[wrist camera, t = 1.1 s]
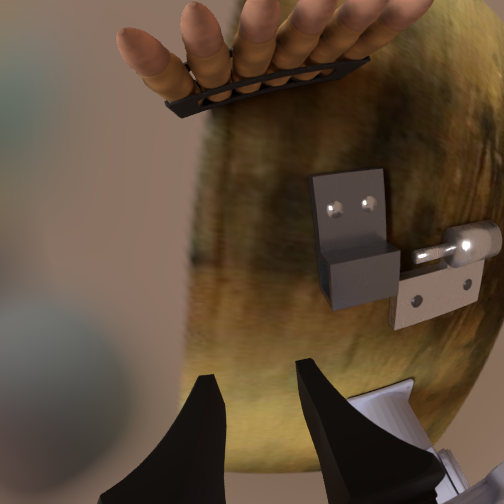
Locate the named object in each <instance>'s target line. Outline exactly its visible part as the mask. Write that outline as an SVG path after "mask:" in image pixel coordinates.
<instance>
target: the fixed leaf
mask: <svg viewBox="0 0 504 504" xmlns="http://www.w3.org/2000/svg"><path fill="white" fill-rule="evenodd" d="M501 246H502V235H501V232H500V229H499V227H498V226H497V224H496V223H495V222H494V221H492V220H484V221H479V222H474V223H469V224H465V225H460V226H455V227H450V228H447V229H446V230H445V231H444V232H443V234H442V238H441V244H440V245H435V246H431V247H427V248H423V249H418V250H414V251H412V260H413V262H414V263H415V264H419V263H423V262H427V261H430V260H434V259H438V258H440V262H439V263H436V264H433V265H429V266H425V267H421V268H417V269H414V270H410V271H406V272H402V273H400V276H399V292H398V295H395V296H392V297H390V309H389V321H388V323H389V324H390V326H391V327H392V328H393V329H394V330H397V329H401V328H404V327H407V326H410V325H413V324H416V323H419V322H422V321H425V320H428V319H431V318H434V317H436V316H439V315H442V314H445V313H447V312H450V311H453V310H455V309H458V308H461V307H463V306H466V305H468V304H471V303H473V302H475V301H477V299H478V294H479V289H480V284H481V278H482V273H483V266H484V259H487V258H490V257H493V256H496V255H497V254H498V253H499V252H500V250H501Z"/></svg>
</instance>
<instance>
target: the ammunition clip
mask: <svg viewBox="0 0 504 504" xmlns="http://www.w3.org/2000/svg"><path fill="white" fill-rule="evenodd" d="M433 1H434V0H390V1H389V0H346V1H345V2H344V3H343V5H342V6H340V7H339V8H338V9H336V6H337V2H338V0H299V1H298V3H297V4H296V6H295V8H294V10H293V11H292V12H291V13H290V15H289V17H288V18H287V20H285V21H284V22H283V23H282V24H281V26H280V27H279V28H278V31H277V27H278V23H279V18H280V7H279V2H278V0H247V1H246V3H245V5H244V8H243V11H242V13H241V17H240V23H239V26H238V31H237V33H236V35H235V37H234V40H233V48H232V49H228V47H227V45H226V44H225V42H224V39H223V36H222V34H221V28H220V26H219V24H218V21H217V20H216V18H215V17H214V15H213V13H212V12H211V11H210V10H209V9H208V8H207V7H206V6H204V5H203V4H201V3H198V2H190V3H189V4H188V5H187V6H186V7H185V9H184V11H183V14H182V18H181V34H182V39H183V42H184V44H185V49H186V52H187V54H186V57H187V62H185V63H182V61H181V60H180V58H178V57H177V56H175V55H174V54H173V53H170V52H169V51H168V50H167V49H166V48H165V47H164V46H163V45H162V44H161V43H160V42H159V41H158V40H157V39H155V38H154V37H153V36H151V35H150V34H148V33H147V32H145V31H142V30H139V29H136V28H122V29H120V30H119V31H118V33H117V45H118V49H119V51H120V53H121V55H122V57H123V58H124V60H125V61H126V63H127V64H128V65H129V66H130V67H131V68H132V69H134V70H135V71H136V73H137V74H138V75H139V76H141V77H142V79H143V81H144V83H145V85H146V86H147V87H149V88H150V89H151V90H153V91H154V92H156V93H157V94H158V95H160V96H161V97H163V98H164V99H166V101H165V105H166V107H168V108H169V109H170V110H171V111H173V112H174V113H175V114H176V115H177V116H179V117H180V118H185V117H188V116H191V115H193V114H196V113H199V112H202V111H205V110H208V109H212V108H215V107H218V106H221V105H225V104H228V103H231V102H235V101H238V100H242V99H246V98H249V97H253V96H257V95H261V94H265V93H269V92H274V91H278V90H283V89H287V88H292V87H297V86H302V85H307V84H313V83H318V82H324V81H331V80H338V79H341V78H342V77H344V76H346V75H347V74H349V73H350V72H352V71H354V70H355V69H357V68H359V67H360V66H362V65H364V64H366V63H367V62H369V61H370V56H369V55H370V54H372V53H373V52H375V51H377V50H378V49H380V48H382V47H384V46H385V45H387V44H388V43H389V42H390V41H391V40H392V39H393V38H394V36H396V35H397V34H398V33H400V32H401V31H403V30H404V29H405V28H406V27H408V26H410V25H411V24H413V23H414V22H416V21H417V20H418V19H419V18H421V17H422V16H423V15H424V14H425V12H426V11H427V10H428V9H429V7H430V6H431V5H432V3H433ZM335 9H336V10H335ZM276 32H277V33H276ZM230 57H233V69H231V65H230ZM190 71H192V73H193V74H194V76H195V78H196V80H194V79H193V78H192V76H191V75H190V73H189V72H190ZM169 102H170V103H169Z"/></svg>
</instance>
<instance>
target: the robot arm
mask: <svg viewBox="0 0 504 504" xmlns="http://www.w3.org/2000/svg"><path fill="white" fill-rule="evenodd" d="M295 363H296V372H297V381H298V390H299V396H300V401H301V406H302V410H303V414H304V417H305V420H306V423H307V426H308V429H309V432H310V435H311V438H312V441H313V443H314V446H315V449H316V452H317V455H318V458H319V462H320V466H321V470H322V474H323V479H324V484H325V488H326V493H327V498H328V503H329V504H504V461H503V462H502V463H500V464H499V465H498V466H496V467H495V468H494V469H493V470H492V471H491V472H490V473H489V474H488V475H487V476H486V477H485V478H484V479H483V480H481V481H479V482H478V483H476V484H475V485H473V486H472V487H470V485H469V483H468V481H467V479H466V477H465V476H464V474H463V472H462V470H461V468H460V466H459V464H458V463H457V461H456V459H455V457H454V456H453V454H452V452H451V451H450V450H445V449H441V450H440V451H439V452H437V451H436V450H435V449H434V447H433V446H432V444H431V442H430V440H429V438H428V436H427V435H426V433H425V431H424V429H423V427H422V426H421V424H420V422H419V420H418V418H417V417H416V415H415V413H414V411H413V410H412V408H411V406H410V404H409V403H408V400H409V397H410V393H411V390H412V386H413V383H414V381H413V380H412V379H408V380H405V381H403V382H400V383H397V384H394V385H391V386H388V387H385V388H382V389H379V390H376V391H373V392H370V393H367V394H363V395H360V396H357V397H353V398H349V399H347V400H346V399H345V398H344V397H343V396H342V395H341V394H340V393H339V392H338V391H337V390H336V389H335V388H334V386H333V385H332V384H331V383H330V382H329V381H328V380H327V378H326V377H325V376H324V375H323V373H322V372H321V371H320V369H319V368H318V367H317V365H316V364H315V362H314V360H313V359H311V358H307V359H303V360H298V361H295ZM226 427H227V425H226V409H225V403H224V401H223V398H222V395H221V393H220V390H219V387H218V385H217V382H216V379H215V376H214V374H210V375H201V376H199V377H198V378H197V380H196V382H195V384H194V386H193V388H192V391H191V393H190V395H189V396H188V398H187V400H186V402H185V404H184V406H183V408H182V409H181V411H180V413H179V415H178V416H177V418H176V420H175V421H174V423H173V424H172V426H171V427H170V429H169V430H168V432H167V433H166V435H165V436H164V437H163V439H162V440H161V441H160V443H159V444H158V445H157V447H156V448H155V449H154V450H153V451H152V452H151V453H150V454H149V455H148V457H147V458H146V459H145V460H144V461H143V462H142V463H141V464H140V465H139V466H138V467H137V468H136V469H134V470H133V471H132V472H131V473H130V474H129V475H128V476H126V477H125V478H124V479H123V480H122V481H120V482H119V483H117V484H116V485H115V486H113V487H112V488H110V489H109V490H107V491H106V492H104V493H103V494H101V495H100V498H99V500H98V503H97V504H226V500H225V488H224V460H225V444H226ZM438 453H439V454H438Z"/></svg>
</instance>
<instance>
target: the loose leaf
mask: <svg viewBox="0 0 504 504" xmlns="http://www.w3.org/2000/svg"><path fill="white" fill-rule="evenodd" d="M308 181H309V189H310V196H311V204H312V213H313V222H314V231H315V240H316V251H317V261H318V273H319V286H320V290H321V291H322V293H323V295H324V297H325V298H326V300H327V302H328V304H329V306H330V307H331V309H332V311H335V310H339V309H344V308H348V307H352V306H356V305H360V304H364V303H368V302H372V301H376V300H380V299H384V298H388V297H392V296H395V295H398V292H399V276H400V250H399V249H398V248H396V247H395V246H393V245H392V244H391V243H389V242H388V241H386V210H385V191H384V178H383V169H382V168H377V167H370V168H361V169H352V170H343V171H335V172H327V173H319V174H312V175H308Z"/></svg>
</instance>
